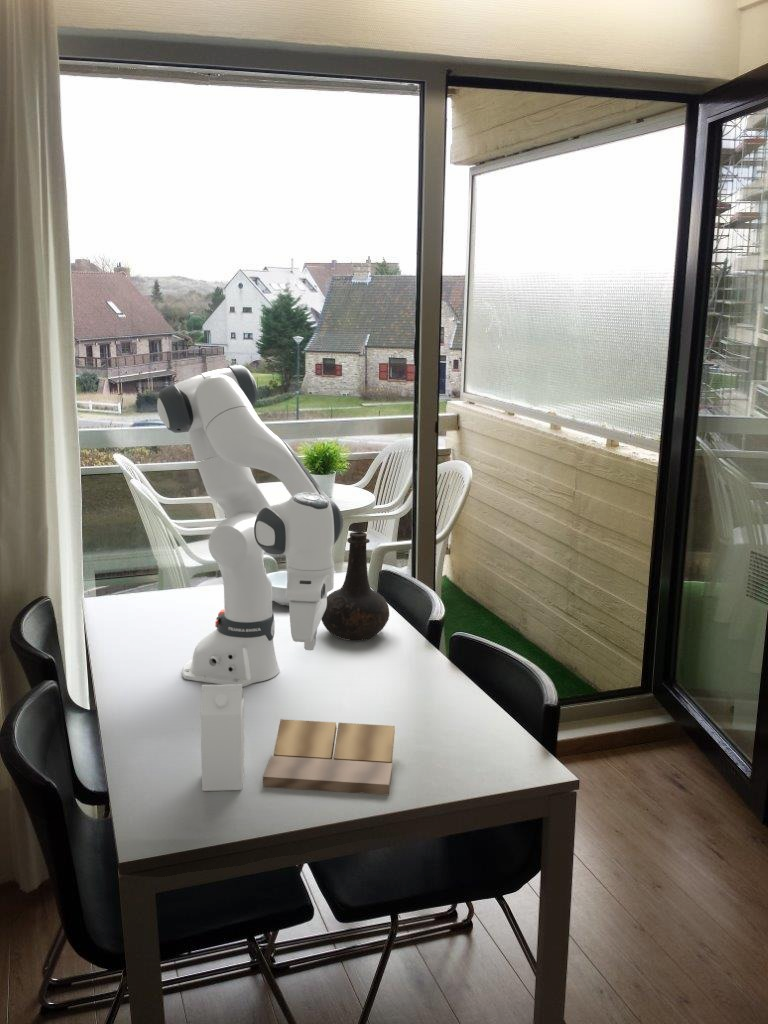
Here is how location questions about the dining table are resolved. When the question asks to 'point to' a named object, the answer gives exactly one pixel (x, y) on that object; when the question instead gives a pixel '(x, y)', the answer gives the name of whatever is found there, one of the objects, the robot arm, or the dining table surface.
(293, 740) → the plank
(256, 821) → the dining table surface
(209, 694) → the milk carton
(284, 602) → the cereal bowl
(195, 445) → the robot arm
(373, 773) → the base board
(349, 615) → the dark brown round bottle
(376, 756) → the plank
